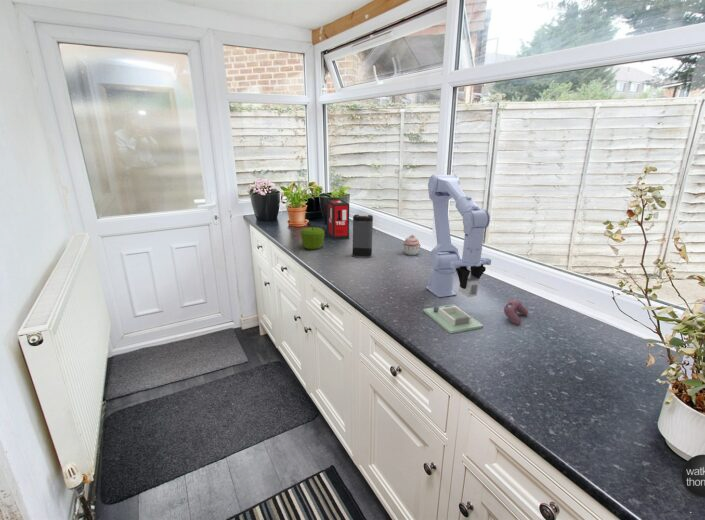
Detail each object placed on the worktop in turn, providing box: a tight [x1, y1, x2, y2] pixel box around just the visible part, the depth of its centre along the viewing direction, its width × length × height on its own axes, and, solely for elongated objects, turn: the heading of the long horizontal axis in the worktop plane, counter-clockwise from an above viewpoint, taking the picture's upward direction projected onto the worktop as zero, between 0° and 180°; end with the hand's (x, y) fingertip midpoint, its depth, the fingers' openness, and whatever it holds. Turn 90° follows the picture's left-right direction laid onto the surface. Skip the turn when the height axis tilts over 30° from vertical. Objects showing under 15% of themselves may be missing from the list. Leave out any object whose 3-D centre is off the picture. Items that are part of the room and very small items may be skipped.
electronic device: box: [352, 214, 374, 259], centre depth 181 cm, size 9×6×20 cm, turn 84°
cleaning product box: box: [326, 199, 350, 241], centre depth 218 cm, size 16×9×20 cm, turn 17°
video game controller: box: [503, 299, 529, 326], centre depth 122 cm, size 10×5×7 cm, turn 141°
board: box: [423, 304, 484, 335], centre depth 121 cm, size 16×12×3 cm
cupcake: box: [402, 234, 422, 256], centre depth 187 cm, size 9×9×10 cm
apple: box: [300, 226, 326, 251], centre depth 194 cm, size 12×12×11 cm
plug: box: [458, 273, 480, 298], centre depth 123 cm, size 6×4×6 cm, turn 20°
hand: (467, 287), depth 123 cm, fingers closed on plug, 3 cm apart
